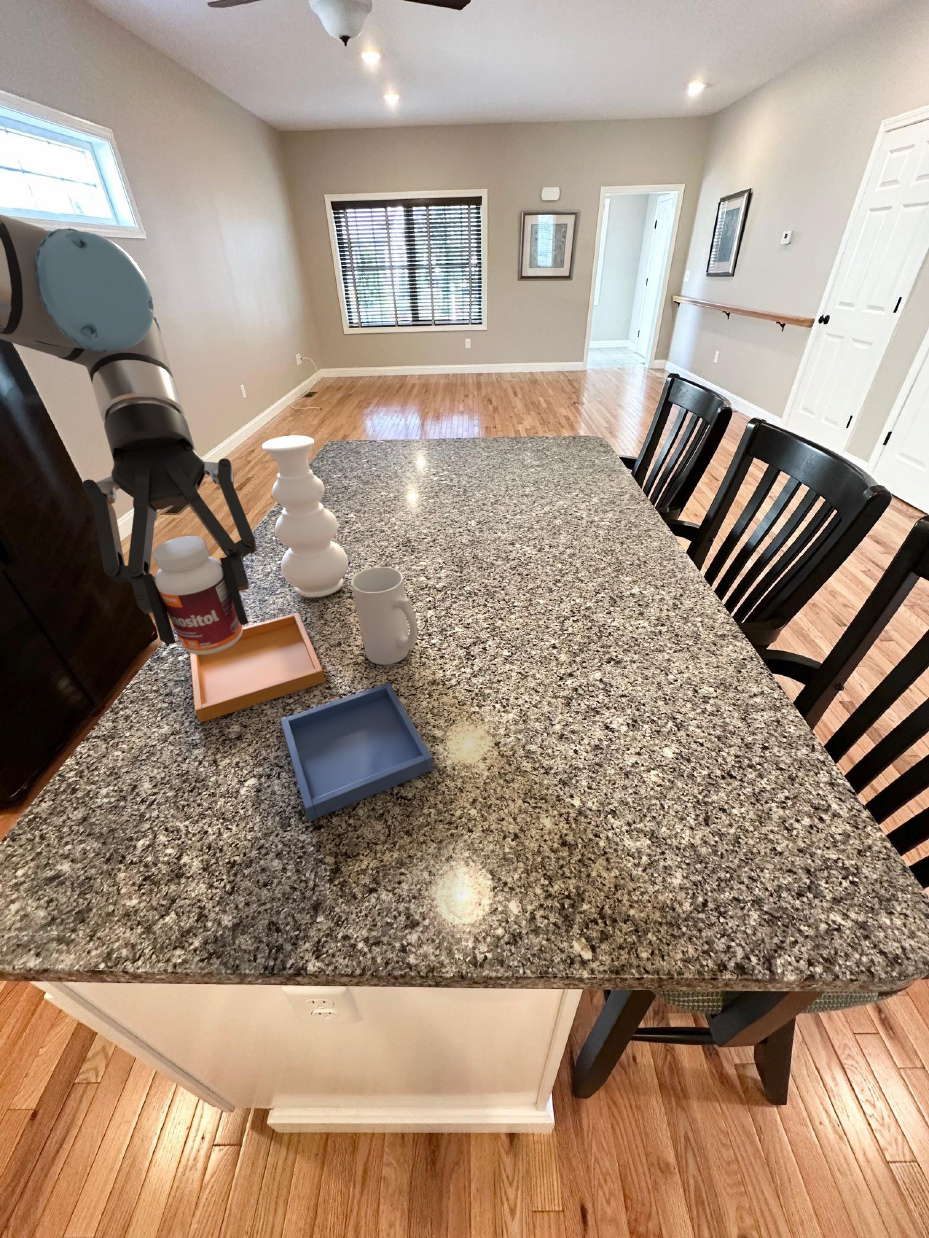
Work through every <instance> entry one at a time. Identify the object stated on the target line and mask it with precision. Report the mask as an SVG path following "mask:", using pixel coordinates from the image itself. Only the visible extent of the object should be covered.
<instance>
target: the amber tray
mask: <svg viewBox="0 0 929 1238" xmlns="http://www.w3.org/2000/svg"><path fill="white" fill-rule="evenodd" d="M242 627H243V632H242V635H241V637H240V638H239V640H238V641H237V642H236V643H235V644H234V645H232V646H230V647H229V648H227V649H225V650H222V651H219V652H216V653H212V654H206V655H198V654H192V653H189V660H190V671H191V672H190V673H191V682H192V692H193V702H194V703H193V707H194V712H195V714H196V716H197V718H198V721H199V723H204V722H207V721H210V720H213V719H216V718H220V717H222V716H225V715H228V714H231V713H235V712H237V711H240V710H243V709H247V708H250V707H253V706H256V705H259V704H263V703H266V702H269V701H271V700H274V699H277V698H282V697H284V696H287V695H290V694H294V693H296V692H299V691H303V690H306V689H309V688H312V687H316V686H318V685H321V684H325V683H326V677H325V674H324V670H323V667H322V666H321V663H320V661H319V659H318V655H317V653H316V651H315V649H314V646H313V644H312V642H311V639H310V637H309V634H308V631H307V630H306V627H305V625H304V622H303V620H302V618H301V615H300V613H299V612H293V613H290V614H285V615H283V616H280V617H275V618H272V619H268V620H265V621H260V622H257V623H253V624H250V625H249V624H248V625H246V626H242Z"/></svg>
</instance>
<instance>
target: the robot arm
mask: <svg viewBox="0 0 929 1238" xmlns="http://www.w3.org/2000/svg"><path fill="white" fill-rule="evenodd" d="M154 307H155V306H154V302H153V294H152V291H151V288H150V286H149V283H148V281H147V278H146V277H145V275H144V273H143V272H142V270H141V269H140V267H139V265H138V264H137V262H135V260H134V259H133V258H132V257H131V256H130V255H129V254H128V252H126V251H125V250H124V249H123V248H121V246H119V245H118V244H116V243H115V242H113V241H112V240H110V239H108V238H106V237H104V236H102V235H100V234H97V233H95V232H94V233H93V232H90V231H81V230H77V229H74V228H70V227H69V228H57V229H53V230H51V229H47V228H43V227H41V226H37V225H34V224H31V223H28V222H25V221H22V220H18V219H15V218H12V217H10V216H6V215H3V214H0V340H2V341H6V342H8V343H11V344H14V345H18V346H21V347H24V348H27V349H30V350H34V351H37V352H41V353H45V354H47V355H51V356H54V357H57V358H58V359H61V360H65V361H68V362H72V363H74V364H77V365H81V366H84V367H85V368H86V369H87V373H88V375H89V378H90V379H89V380H90V382H91V385H92V389H93V393H94V396H95V399H96V400H95V401H96V404H97V407H98V408H97V409H98V411H99V414H100V418H101V420H102V422H103V428H104V432H105V436H106V439H107V442H108V446H109V449H110V453H111V457H112V461H113V467H112V469H111V473H110V475H111V476H108V477H106V478H103V479H101V480H98V481H94V480H93V479H85V480H83V481H82V482H81V487H82V489H83V491H84V492H85V494H86V495H87V497H88V499H89V500H90V501H91V503H92V510H93V515H94V522H95V526H96V532H97V539H98V545H99V549H100V556H101V561H102V568H103V571H104V573H105V574H106V575H108V576H109V577H110V578H111V580H113V581H115V582H117V583H123V582H128V583H131V586H132V591H133V594H134V597H135V600H136V604H137V607H138V608H139V609H140V610H141V611H142V612H143V613H144V614H146V615H147V614H151V613H152V614H153V615H152V616H153V618H154V623H155V626H156V629H157V630H156V631H157V633H158V635H159V636H158V637H159V640H160V641H161V642H162V643H164V644H165V645H166V646H169V645H172V644H177V641H176V639H175V638H176V637H175V634H174V630H173V627H172V622H171V620H170V617H169V615H168V613H167V610H166V608H165V606H164V603H163V601H162V599H161V596H160V594H159V592H158V589H157V587H156V584H155V576H154V575H153V574H152V573H150V571H151V561H152V553H153V544H154V543H153V541H154V532H155V523H156V521H157V517H158V511H159V510H161V511H162V510H165V509H167V508H169V507H173V506H174V507H182V506H188V507H189V509H191V511H192V512H193V514H195V516H196V517H197V519H198V520H199V521H200V522H201V524H202V525H203V527H204V528H205V529H206V530H207V531H208V534H210V536H211V537H212V538H213V540H214V541H215V543H216V544H217V546H218V547H219V548H220V550H221V551H222V552H223V553H224V555H225V556H224V557H220V558H219V562H220V563H221V565H222V568H223V571H224V574H225V578H226V581H227V584H228V588H229V591H230V594H231V598H232V601H233V604H234V608H235V611H236V614H237V618H238V620H239V622H240V624H241V625H242V626H244V625H249V624H250V621H249V619H248V615H247V612H246V609H245V606H244V603H243V599H242V595H241V593H240V592H243V591H246V590H249V589H250V581H249V579H248V575H247V571H246V569H245V565H244V559H245V557H246V556H248V555H249V554H254V553H256V552H257V550H258V547H257V542H256V538H255V536H254V533H253V530H252V528H251V526H250V523H249V521H248V519H247V516H246V513H245V510H244V509H243V506H242V504H241V501H240V498H239V496H238V494H237V491H236V489H235V473H234V470H233V465H232V462H231V461H230V459H229V458H223V457H222V458H220V459H219V460H218V462H214V461H204V459H203V458H202V457H201V456H200V454H198V453H197V450H196V447H195V445H194V441H193V437H192V435H191V431H190V428H189V424H188V421H187V418H185V412H184V408H183V405H182V402H181V401H182V400H181V397H180V394H179V391H178V387H177V383H176V381H175V379H174V375H173V371H172V368H171V366H170V362H169V358H168V354H167V351H166V347H165V344H164V340H163V336H162V331H161V326H160V323H159V321H158V319H157V317H156V315H155V313H154ZM206 475H207V476H209V477H210V478H211V480H212V482H213V484H215V485H218V486H219V487H220V489H221V492H222V495H223V497H224V498H223V499H224V500H225V503H226V505H227V508H228V511H229V513H230V516H231V518H232V521H233V523H234V525H235V528H236V530H237V534H238V535H239V538H240V539H239V540H238V541H236V542H235V541H234V540H233V538H232V537H231V536H230V535H229V533H228V532H227V530H226V529H225V527H223V525H222V524H221V523H220V521H219V519H218V518H217V517H216V516H215V514H214V513H213V511H212V510H211V509H210V508H209V506H208V505H207V503H206V502H205V500H204V499H203V498H202V497H201V495H200V493H199V489H200V487H201V484H202V482H203V480H204V479H205V476H206ZM119 489H120V490H122V491H123V492H124V493H126V494H127V495H129V496H130V497H131V498H133V499H132V507H133V516H132V524H131V525H132V526H131V533H130V534H131V535H130V541H129V551H128V560H127V561H128V562H127V565H126V562H125V557H124V552H123V546H122V540H121V535H120V530H119V529H120V528H119V524H118V519H117V518H118V517H117V514H116V510H115V508H114V506H113V504H115V503H116V500H117V498H118V497H117V491H118V490H119Z"/></svg>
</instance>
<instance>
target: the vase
mask: <svg viewBox="0 0 929 1238" xmlns="http://www.w3.org/2000/svg"><path fill="white" fill-rule="evenodd" d="M314 444H315V440H314V438H312V437H310V436H306V435H287V436H279V437H275V438H271V439H269V440H266V441H265V442H263V444H262V445H261V448H262V450H263V451H264V452H265V453H266V454H267V455H269V456H270V457H271V458H272V459H273V460H274V461H275V463H276V466H277V470H278V471H277V472H278V473H277V476H276V477H277V480H276V481H275V482H274V484H273V487H272V488H271V489H272V490H271V494H272V497H273V499H274V500H275V501H276V503H278V504H279V505H281V507H283V508H282V511H281V515H280V516H279V517H278V518H277V520H276V522H275V525H274V533H275V536H276V538H277V540H278V541H279V542H280V543H281V544H282V545H284V546H285V547H287V548H288V549H287V551H285V553H284V555H283V556H282V559H281V563H280V570H281V573H282V576H283V578H284V580H286V582H287V583H288V584H290V585H291V586H293V587H294V590H295V592H296V594H298V595H300V596H302V597H306V598H321V597H326V596H329V595H332V594H335V593H336V592H337V591H339V590H340V589H341V588H342V587H343V585H344V577H345V575H346V574H347V571H348V568H349V559H348V555H347V553H346V551H345V550H344V549H343V548H342V547H341V546H340V545H339V544H337V543H336V542H334V541H332V540H334V538H335V537H336V535H337V533H338V531H339V530H338V529H339V524H338V523H339V522H338V520H337V518H336V516H335V514H334V513H333V512H331V511H330V510H329V509H327V508H326V507H324V505H323V504H322V503H321V502H320V501H321V500H322V499H323V497H324V495H325V491H326V489H325V485H324V483H323V481H322V480H321V479H320V478H319V477H317V476H316V475H315V473H314V472H313V470H312V469H311V468H310V465H309V455H310V452H311V450H312V448H313V446H314Z"/></svg>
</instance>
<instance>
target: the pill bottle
mask: <svg viewBox="0 0 929 1238" xmlns="http://www.w3.org/2000/svg"><path fill="white" fill-rule="evenodd" d="M151 555H152V557H153V559H154V562H155V565H156V566H157V567H158V570H157V572H156V574H155V576H154V577H155V584H156V587H157V589H158V592H159V594H160V596H161V599H162V601H163V603H164V606H165V608H166V610H167V613H168V616H169V620H170V623H171V625H172V626H173V627H172V628H173V629H174V631H175V633H176V636H177V638H178V641H179V643H180V645H181V647H182V648H183V649H184V650H185V651H186V652H188V653H189V654H190V653H192V654H198V655H206V654H212V653H216V652H219V651H222V650H225V649H227V648H229V647H230V646H232V645H234V644H235V643H236V642H237V641H238V640H239V638H240V637H241V635H242V632H243V627H244V626H243V625H241V624H240V622H239V620H238V618H237V614H236V611H235V608H234V604H233V601H232V598H231V594H230V591H229V588H228V584H227V581H226V578H225V574H224V571H223V568H222V564H221V561H220V560H218V559H216V558H215V557H213V556H210V549H209V547H208V545H207V542H206V540H205V539H204V538H202V537H200V536H195V535H185V536H179V537H175V538H172V539H168V540H166V541H164V542H162V543H160V544H158V545H157V546H156V547H154V549H152V553H151Z"/></svg>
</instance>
